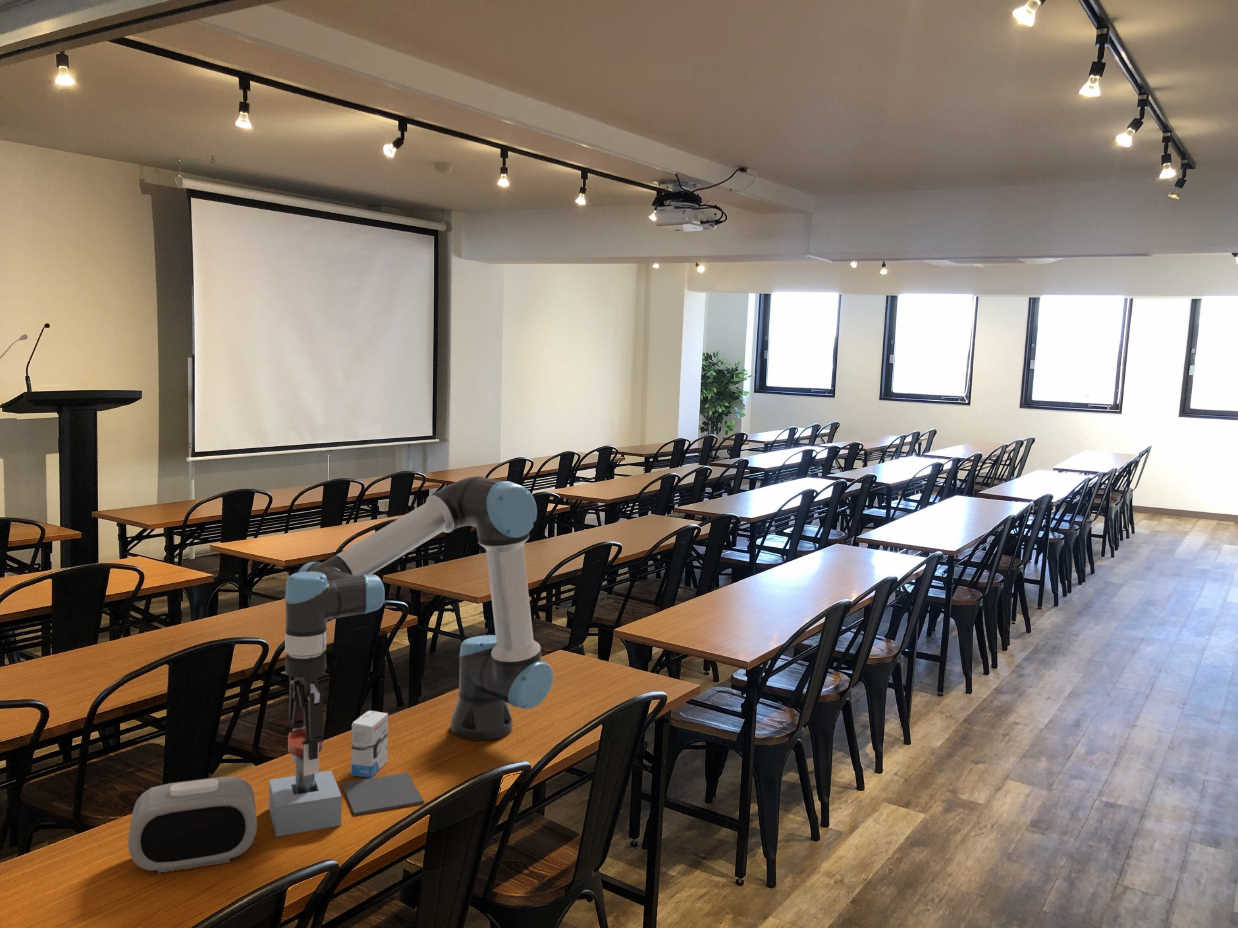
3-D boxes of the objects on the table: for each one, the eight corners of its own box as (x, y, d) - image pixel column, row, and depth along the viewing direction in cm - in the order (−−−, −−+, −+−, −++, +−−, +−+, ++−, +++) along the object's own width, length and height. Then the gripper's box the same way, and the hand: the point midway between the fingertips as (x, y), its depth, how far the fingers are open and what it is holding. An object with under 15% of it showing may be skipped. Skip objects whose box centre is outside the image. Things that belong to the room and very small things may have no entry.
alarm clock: (128, 881, 159) (127, 806, 157) (132, 853, 168) (131, 782, 166) (257, 860, 167) (257, 789, 166) (254, 834, 176) (255, 767, 174)
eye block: (331, 798, 191) (331, 770, 191) (341, 825, 181) (341, 795, 180) (269, 808, 186) (269, 779, 185) (275, 836, 175) (276, 806, 175)
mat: (407, 774, 203) (407, 772, 203) (423, 803, 191) (423, 800, 191) (341, 785, 197) (341, 782, 197) (354, 815, 185) (354, 812, 185)
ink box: (370, 778, 201) (371, 726, 200) (349, 775, 202) (350, 723, 201) (388, 762, 209) (389, 712, 208) (368, 759, 210) (368, 709, 209)
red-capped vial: (293, 818, 179) (294, 738, 177) (283, 804, 184) (283, 727, 182) (326, 809, 182) (327, 731, 181) (315, 796, 188) (316, 720, 186)
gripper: (342, 663, 174) (341, 781, 177) (309, 636, 190) (308, 744, 192) (302, 670, 170) (301, 790, 172) (271, 641, 185) (271, 752, 188)
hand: (305, 766), depth 182 cm, fingers closed on red-capped vial, 6 cm apart
